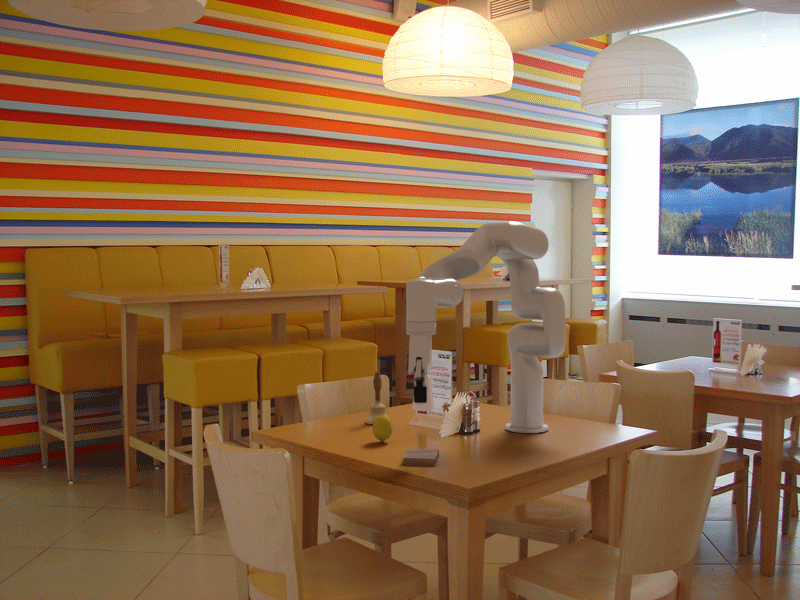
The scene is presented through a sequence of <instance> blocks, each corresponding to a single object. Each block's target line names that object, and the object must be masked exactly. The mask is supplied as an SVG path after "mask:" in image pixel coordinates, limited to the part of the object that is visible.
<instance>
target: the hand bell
mask: <svg viewBox="0 0 800 600" xmlns="http://www.w3.org/2000/svg"><path fill="white" fill-rule="evenodd" d="M372 383H373V388H374V393H375V394H374V395H375V396H374V398H375V399H374V400H375V401H374V403H372V404H371V406H370V411H369V415H368V417H367V418H366V419H365V420H364V424H366V423H367V424H366V425H370V424H373V422H374V420H375V418H376V417H377V416H379V415H381V414H384V415H386V416H387V417H389V416H388V414H387V412H386V406H385V404H383V403H382V402H381V400H382V399H381V389H382V383H383V382H382V377H381V374H380V372H379V371H375V372H374V376H373V381H372Z"/></svg>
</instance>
